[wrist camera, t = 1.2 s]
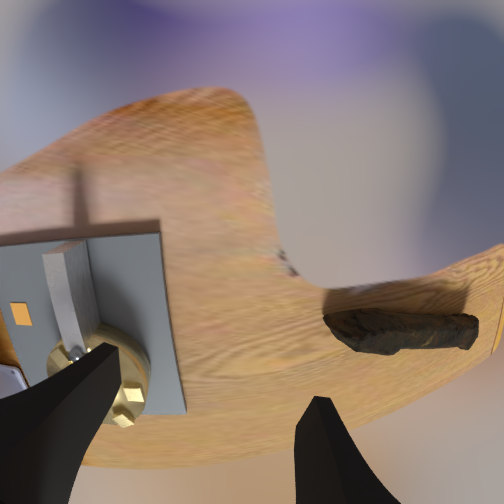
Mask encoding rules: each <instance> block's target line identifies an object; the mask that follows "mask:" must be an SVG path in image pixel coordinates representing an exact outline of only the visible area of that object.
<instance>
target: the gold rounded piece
mask: <svg viewBox="0 0 504 504" xmlns="http://www.w3.org/2000/svg"><path fill="white" fill-rule="evenodd" d="M42 257H43V263H44V268H45V273H46V278H47V283H48V288H49V292H50V296H51V300H52V304H53V308H54V312H55V316H56V319H57V323H58V326H59V330H60V333H61V336H62V338H61V339H60V340H59V341H58V343H57V344H56V345H55V347H54V348H53V349H52V351H51V352H50V353H49V356H48V358H47V364H46V369H47V375H48V377H50V376H52V375H54V374H55V373H57V372H59V371H60V370H62V369H64V368H65V367H67V366H68V365H70V364H71V363H73V362H75V361H76V360H78V359H79V358H81V357H82V356H84V355H85V354H87V353H88V352H89V351H91V350H92V349H94V348H95V347H97V346H98V345H100V344H101V343H103V342H106V343H109V344H111V345H114V346H117V347H119V359H120V370H121V380H122V384H121V386H120V389H119V391H118V393H117V396H116V398H115V400H114V403H113V405H112V407H111V408H110V410H109V412H108V413H107V415H106V417H105V419H104V420H103V422H102V423H104V424H114V425H116V424H119V425H120V426H121V427H122V428H125V427H127V426H130V425H132V424H134V420H135V419H136V418H137V417H139V415H140V414H141V413H142V412H143V410H144V408H145V404H146V399H147V394H148V390H149V385H150V380H151V367H150V363H149V360H148V358H147V356H146V354H145V352H144V351H143V349H142V348H141V347H140V345H139V344H138V343H137V342H136V341H135V340H134V339H133V338H132V337H131V336H129V335H128V334H127V333H125V332H124V331H122V330H121V329H119V328H117V327H115V326H112V325H110V324H107V323H104V322H101V321H100V316H99V312H98V308H97V303H96V298H95V293H94V288H93V283H92V277H91V271H90V265H89V259H88V252H87V245H86V240H82V241H70V242H65V243H63V244H61V245H59V246H57V247H56V248H54V249H52V250H50V251H48V252H46V253H44V254H42Z"/></svg>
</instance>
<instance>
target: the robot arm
mask: <svg viewBox="0 0 504 504" xmlns="http://www.w3.org/2000/svg"><path fill="white" fill-rule="evenodd" d="M121 384H122V380H121V370H120V359H119V347H117V346H114V345H111V344H109V343H106V342H103V343H101V344H100V345H98V346H97V347H95V348H94V349H92V350H91V351H89V352H88V353H87V354H85V355H84V356H82V357H81V358H79V359H78V360H76V361H75V362H73V363H71V364H70V365H68V366H67V367H65V368H64V369H62V370H60V371H59V372H57V373H55V374H54V375H52V376H50V377H48V378H47V379H45V380H43V381H41V382H39V383H37V384H35V385H33V386H31V387H29V388H28V386H27V384H26V382H25V380H24V378H23V375H22V373H21V371H20V370H19V369H18V368H17V367H12V366H7V365H1V364H0V504H68V502H69V498H70V494H71V491H72V487H73V484H74V481H75V478H76V475H77V472H78V470H79V467H80V465H81V462H82V460H83V457H84V455H85V452H86V450H87V448H88V446H89V445H90V443H91V441H92V439H93V438H94V436H95V434H96V432H97V431H98V429H99V427H100V425H101V424H102V422H103V420H104V419H105V417H106V415H107V413H108V412H109V410H110V408H111V407H112V405H113V403H114V400H115V398H116V396H117V393H118V391H119V389H120V386H121ZM294 461H295V482H296V484H295V485H296V504H401V503H400V502H399V501H398V500H397V499H395V497H394V496H393V495H392V494H391V493H390V492H389V491H388V490H387V489H386V488H385V487H384V486H383V484H382V483H381V482H380V481H379V479H378V478H377V477H376V475H375V474H374V473H373V471H372V470H371V469H370V467H369V466H368V464H367V463H366V461H365V460H364V458H363V457H362V455H361V453H360V452H359V450H358V449H357V447H356V445H355V444H354V442H353V440H352V438H351V436H350V435H349V433H348V431H347V429H346V427H345V425H344V424H343V422H342V420H341V418H340V416H339V414H338V412H337V410H336V408H335V406H334V404H333V402H332V400H331V399H330V398H328V397H319V396H314V398H313V399H312V401H311V403H310V404H309V406H308V408H307V409H306V411H305V413H304V414H303V416H302V417H301V419H300V421H299V422H298V424H297V425H296V431H295V443H294Z"/></svg>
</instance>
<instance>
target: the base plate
mask: <svg viewBox="0 0 504 504" xmlns="http://www.w3.org/2000/svg"><path fill="white" fill-rule="evenodd" d="M82 240H86V245H87V252H88V259H89V265H90V271H91V277H92V283H93V288H94V293H95V298H96V303H97V308H98V312H99V316H100V321H101V322H104V323H107V324H110V325H112V326H115V327H117V328H119V329H121V330H122V331H124V332H125V333H127V334H128V335H129V336H131V337H132V338H133V339H134V340H135V341H136V342H137V343H138V344H139V345H140V347H141V348H142V349H143V351H144V352H145V354H146V356H147V358H148V360H149V363H150V367H151V380H150V385H149V390H148V394H147V399H146V404H145V408H144V410H143V412H142V413H141V414H150V415H181V414H187V407H186V403H185V398H184V393H183V388H182V384H181V379H180V373H179V368H178V363H177V357H176V352H175V346H174V340H173V333H172V327H171V320H170V313H169V306H168V299H167V291H166V283H165V274H164V265H163V255H162V244H161V232H149V233H134V234H121V235H108V236H95V237H83V238H72V239H61V240H50V241H40V242H30V243H20V244H10V245H1V246H0V308H1V312H2V315H3V318H4V321H5V324H6V327H7V330H8V333H9V336H10V339H11V342H12V344H13V347H14V350H15V352H16V355H17V357H18V360H19V362H20V365H21V367H22V369H23V371H24V374H25V376H26V378H27V380H28V382H29V385H30V387H31V386H33V385H35V384H37V383H39V382H41V381H43V380H45V379H47V378H48V375H47V369H46V364H47V358H48V356H49V353H50V352H51V351H52V349H53V348H54V347H55V345H56V344H57V343H58V341H59V340H60V339H61V338H62V336H61V333H60V330H59V326H58V323H57V319H56V316H55V312H54V308H53V304H52V300H51V296H50V292H49V288H48V283H47V278H46V273H45V268H44V263H43V257H42V254H44V253H46V252H48V251H50V250H52V249H54V248H56V247H57V246H59V245H61V244H63V243H65V242H70V241H82Z"/></svg>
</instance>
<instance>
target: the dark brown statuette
mask: <svg viewBox="0 0 504 504" xmlns="http://www.w3.org/2000/svg"><path fill="white" fill-rule="evenodd" d="M323 319H324V322H325V324H326V325H327V326H328V327H329V328H330V330H331V332H332V333H333V335H334V336H335V337H336V338H337V339H338V340H340V341H341V342H343V343H344V344H346V345H347V346H348V347H350V348H351V349H353V350H354V351H356V352H363V353H374V354H380V355H388V356H389V355H394V354H395V353H397V352H398V351H399V350H400V349H435V348H450V347H458V348H460V349H464V350H469V349H470V348H471V346H472V345H473V343H474V342H475V340H476V338H477V337H478V332H479V330H478V328H479V320H478V318H476V317H475V316H473V315H468V314H466V313H462V314H461V315H460V314H458V315H457V314H454V315H453V316H451V315H443V316H437V315H432V314H427V315H421V314H406V313H393V312H387V311H383V310H380V309H373V308H368V309H357V310H350V311H344V312H339V313H334V314H330V315H326V316H324V317H323Z"/></svg>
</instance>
